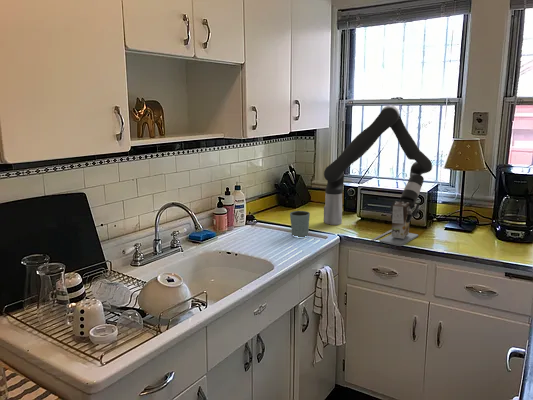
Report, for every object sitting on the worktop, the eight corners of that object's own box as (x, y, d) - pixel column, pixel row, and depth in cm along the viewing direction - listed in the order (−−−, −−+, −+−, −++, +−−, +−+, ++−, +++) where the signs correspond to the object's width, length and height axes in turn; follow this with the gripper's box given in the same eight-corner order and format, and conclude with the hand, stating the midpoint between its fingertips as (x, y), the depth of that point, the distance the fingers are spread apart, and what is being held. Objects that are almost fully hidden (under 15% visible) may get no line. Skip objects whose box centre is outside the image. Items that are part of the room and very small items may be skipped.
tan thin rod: (370, 240, 223) (370, 239, 223) (390, 230, 239) (390, 229, 239) (373, 241, 222) (373, 240, 222) (393, 230, 238) (393, 230, 238)
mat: (379, 241, 221) (379, 240, 220) (397, 232, 235) (397, 230, 235) (400, 246, 214) (400, 244, 213) (418, 236, 228) (418, 234, 228)
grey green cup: (295, 239, 227) (295, 216, 224) (286, 234, 236) (286, 211, 233) (313, 236, 231) (313, 214, 228) (304, 231, 240) (304, 209, 237)
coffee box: (404, 239, 219) (405, 206, 215) (391, 237, 222) (392, 205, 218) (409, 234, 226) (410, 202, 222) (396, 232, 229) (397, 201, 226)
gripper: (395, 187, 229) (383, 214, 223) (423, 190, 220) (411, 219, 214) (399, 195, 234) (388, 222, 228) (426, 199, 225) (415, 227, 219)
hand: (399, 220), depth 221 cm, fingers closed on coffee box, 7 cm apart
